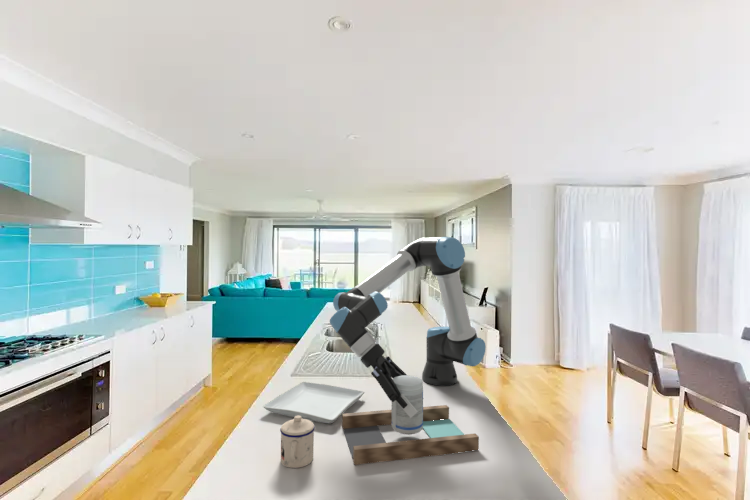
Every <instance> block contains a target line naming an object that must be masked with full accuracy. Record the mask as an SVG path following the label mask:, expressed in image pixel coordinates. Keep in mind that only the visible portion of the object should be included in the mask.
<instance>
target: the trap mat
mask: <svg viewBox="0 0 750 500" xmlns="http://www.w3.org/2000/svg"><path fill="white" fill-rule="evenodd" d="M342 429H343V428H342ZM343 434H344V437H345V439H346V443H347V446H348V449H349V452H350V455H351V458H352V460H353V446H359V445H369V444H379V443H387V442H386V440H385V438H384V436H383V433H382V432H381V430H380V428H379V426H369V427H358V428H347V429H343Z"/></svg>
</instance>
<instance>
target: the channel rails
mask: <svg viewBox="0 0 750 500" xmlns="http://www.w3.org/2000/svg"><path fill="white" fill-rule="evenodd" d="M341 416H342V420H341V426H342V429H347V428H358V427H369V426H378V427H379V426H389V425H391V426H392V409H383V410H372V411H371V410H370V411H359V412H348V413H345V412H344V413H343V414H341ZM440 419H450V407H449V406H448V405H447V404H443V405H432V406H431V405H430V406H429V405H428V406H423V421H433V420H440ZM464 434H465V433H464ZM479 438H480V437H479V435H478V434H476V433H467V434H465V435H456V436H446V437H436V438H430V437H427V438H419V439H410V440H398V441H389V442H386V443H379V444H369V445H359V446H353V459H352V462H353V464H354V466H359V465H365V464H366V465H367V464H376V463H383V462H391V461H401V460H410V459H418V458H427V457H435V456H436V457H437V456H445V455H444V454H446V455H452V453H454V454H459V453H458V452H463V453H466V452H465V451H472V450H478V449H479V446H480V445H479V444H480V442H479V441H480V439H479ZM479 450H480V449H479ZM472 452H473V451H472Z"/></svg>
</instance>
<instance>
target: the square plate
mask: <svg viewBox="0 0 750 500" xmlns="http://www.w3.org/2000/svg"><path fill="white" fill-rule="evenodd" d="M364 394H365V391H363V390H358V389H352V388H347V387H342V386H337V385H331V384H324V383H316V382H309V381H308V382H307V381H302V382H299V384H297V385H295V386H292V387H290V389H287V390H286V391H284V392H283V393H281V394H279V395H277V396H276V397H275V398H273V399H272V400H270V401H268V402H267V403H265V404H264V405H263V406H262V408H264V409H265V410H267V411H268V412H270V413H274V414H277V415H283V416H286V417H292V418H294V417H295V416H297V415H299V416H301V417H302V419H307V420H310V421H311V422H315V423H316V422H317V423H323V424H324V423H325V424H332V423H334V422H335V421H337V420H338V419H339V418H340V416H342V414H345V412H346V411H347V410H348V409H349V408H350V407H352V406H353V405H354V404H356V403H357V402H358V401H359V400H360V399H361V397H362V396H363V395H364Z"/></svg>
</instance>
